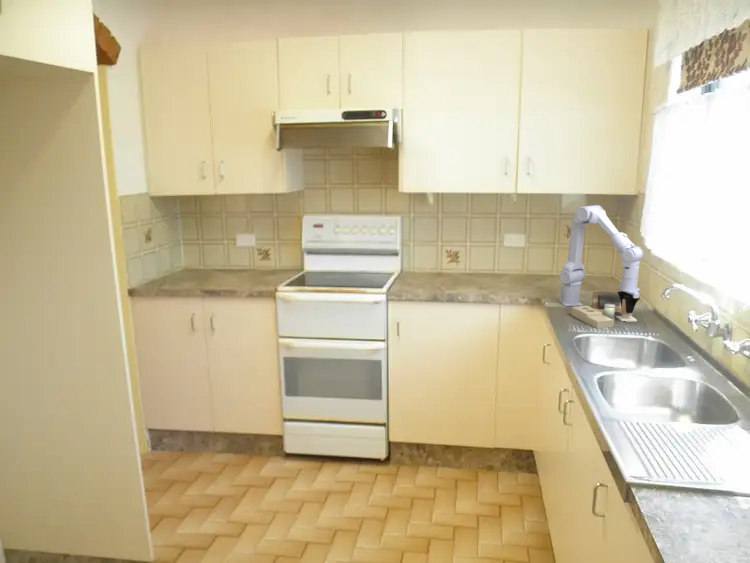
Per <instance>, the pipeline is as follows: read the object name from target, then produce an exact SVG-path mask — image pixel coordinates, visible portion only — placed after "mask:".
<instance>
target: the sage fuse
mask: <svg viewBox="0 0 750 563" xmlns="http://www.w3.org/2000/svg"><path fill="white" fill-rule="evenodd" d="M615 313H616V312H615V304H610V303H607V304H605V306H604V312H603V315H604V316H606V317H609V318H611V319H613V320H614V321H615V317H616V314H615Z"/></svg>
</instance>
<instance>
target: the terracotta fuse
mask: <svg viewBox="0 0 750 563" xmlns="http://www.w3.org/2000/svg"><path fill="white" fill-rule="evenodd" d="M620 313H621V316H632V317H633V312H632V313H627V312H626V302H625V299H623V301H622V312H620Z"/></svg>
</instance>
